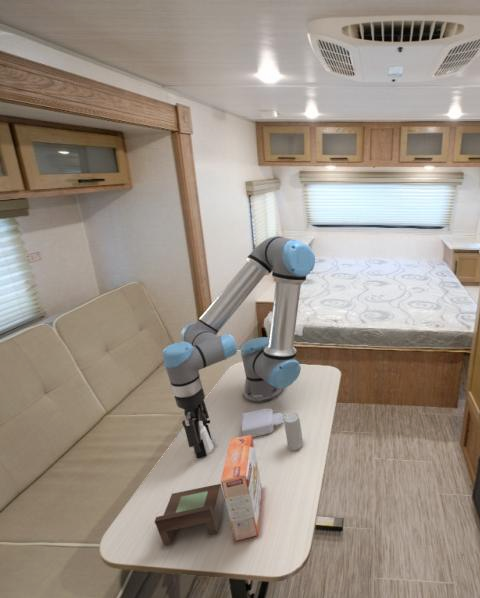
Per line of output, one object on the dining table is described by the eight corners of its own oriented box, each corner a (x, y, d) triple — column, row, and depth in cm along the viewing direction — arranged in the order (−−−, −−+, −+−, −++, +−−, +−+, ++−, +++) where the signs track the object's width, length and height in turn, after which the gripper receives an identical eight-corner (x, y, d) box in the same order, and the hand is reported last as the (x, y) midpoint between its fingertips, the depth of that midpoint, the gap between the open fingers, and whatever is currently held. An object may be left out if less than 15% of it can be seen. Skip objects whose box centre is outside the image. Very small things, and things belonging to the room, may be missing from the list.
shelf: (177, 509, 93) (169, 485, 90) (224, 498, 96) (218, 475, 93) (164, 546, 84) (154, 521, 81) (217, 533, 87) (209, 509, 84)
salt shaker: (215, 441, 116) (208, 415, 112) (212, 453, 111) (205, 426, 107) (196, 445, 114) (189, 419, 110) (194, 457, 109) (186, 431, 105)
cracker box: (260, 535, 87) (247, 475, 79) (234, 542, 85) (218, 482, 77) (264, 488, 99) (252, 432, 91) (241, 493, 98) (228, 437, 90)
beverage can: (298, 452, 112) (294, 423, 107) (285, 450, 112) (280, 421, 108) (305, 441, 116) (301, 413, 111) (292, 439, 117) (288, 411, 112)
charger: (289, 430, 121) (243, 440, 116) (288, 413, 129) (245, 422, 124) (288, 419, 119) (241, 429, 114) (287, 403, 127) (243, 412, 122)
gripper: (184, 375, 111) (199, 430, 120) (163, 414, 94) (182, 474, 103) (209, 371, 113) (222, 426, 122) (193, 409, 96) (210, 469, 105)
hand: (204, 448), depth 112 cm, fingers open, 6 cm apart
